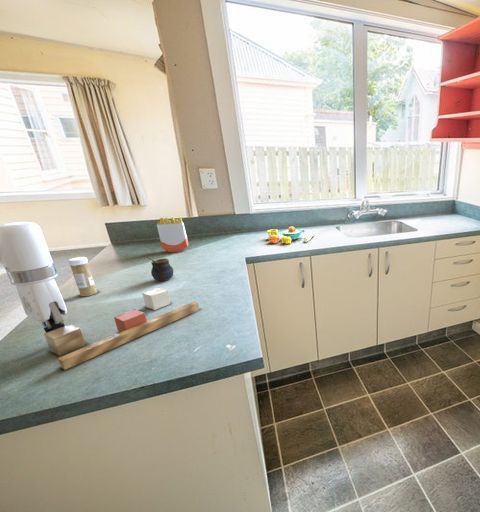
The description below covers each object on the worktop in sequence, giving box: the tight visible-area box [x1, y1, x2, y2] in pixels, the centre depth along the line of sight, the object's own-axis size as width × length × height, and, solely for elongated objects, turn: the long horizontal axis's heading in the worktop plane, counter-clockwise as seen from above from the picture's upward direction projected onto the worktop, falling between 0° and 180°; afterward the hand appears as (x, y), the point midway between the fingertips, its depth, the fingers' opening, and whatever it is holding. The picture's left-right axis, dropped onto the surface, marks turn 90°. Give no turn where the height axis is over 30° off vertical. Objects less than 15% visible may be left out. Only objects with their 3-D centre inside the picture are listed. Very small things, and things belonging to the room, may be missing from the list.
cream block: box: [141, 287, 172, 311], centre depth 97 cm, size 5×5×5 cm
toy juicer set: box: [266, 225, 316, 245], centre depth 177 cm, size 29×18×8 cm, turn 106°
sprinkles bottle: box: [67, 256, 98, 297], centre depth 103 cm, size 5×5×13 cm
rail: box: [57, 301, 200, 371], centre depth 82 cm, size 32×2×2 cm, turn 155°
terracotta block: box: [113, 309, 148, 333], centre depth 83 cm, size 5×5×5 cm
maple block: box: [43, 323, 87, 357], centre depth 75 cm, size 5×5×5 cm
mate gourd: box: [146, 256, 174, 282], centre depth 117 cm, size 7×8×10 cm
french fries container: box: [156, 216, 189, 253], centre depth 153 cm, size 5×11×18 cm, turn 114°
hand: (58, 338), depth 77 cm, fingers closed
